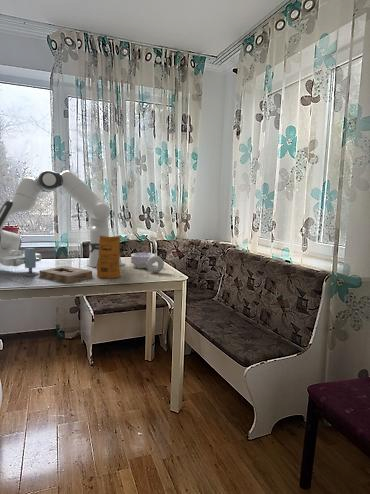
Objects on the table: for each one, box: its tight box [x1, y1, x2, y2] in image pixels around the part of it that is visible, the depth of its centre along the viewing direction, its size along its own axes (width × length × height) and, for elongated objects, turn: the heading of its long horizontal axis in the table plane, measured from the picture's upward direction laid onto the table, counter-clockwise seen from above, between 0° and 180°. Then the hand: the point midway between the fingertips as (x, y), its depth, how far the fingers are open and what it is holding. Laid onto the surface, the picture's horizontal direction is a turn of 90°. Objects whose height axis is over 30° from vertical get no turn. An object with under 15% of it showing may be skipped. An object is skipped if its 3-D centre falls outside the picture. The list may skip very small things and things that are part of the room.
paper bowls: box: [130, 252, 157, 269], centre depth 208 cm, size 15×15×8 cm
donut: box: [146, 255, 165, 274], centre depth 193 cm, size 10×4×10 cm, turn 96°
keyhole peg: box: [24, 247, 37, 278], centre depth 174 cm, size 5×5×14 cm
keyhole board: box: [38, 265, 93, 284], centre depth 175 cm, size 21×16×4 cm
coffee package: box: [96, 235, 121, 279], centre depth 179 cm, size 10×12×22 cm
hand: (31, 261), depth 174 cm, fingers open, 7 cm apart
